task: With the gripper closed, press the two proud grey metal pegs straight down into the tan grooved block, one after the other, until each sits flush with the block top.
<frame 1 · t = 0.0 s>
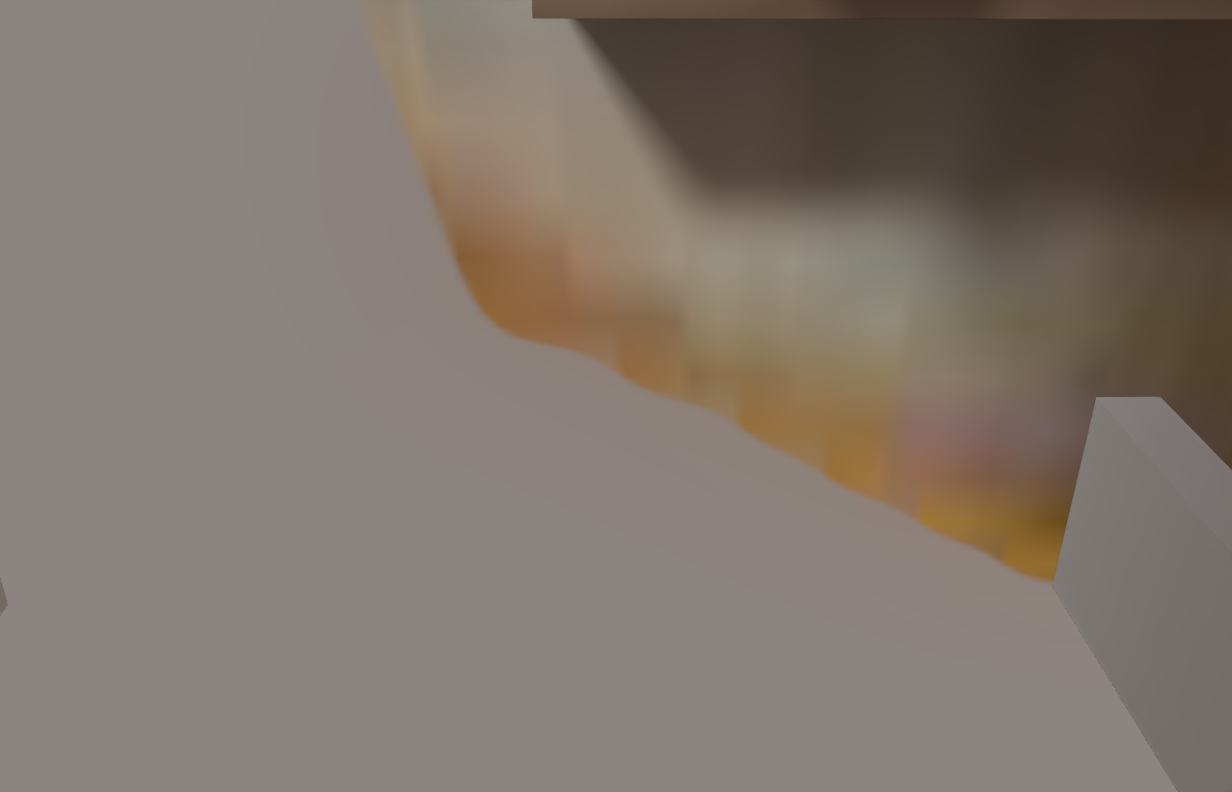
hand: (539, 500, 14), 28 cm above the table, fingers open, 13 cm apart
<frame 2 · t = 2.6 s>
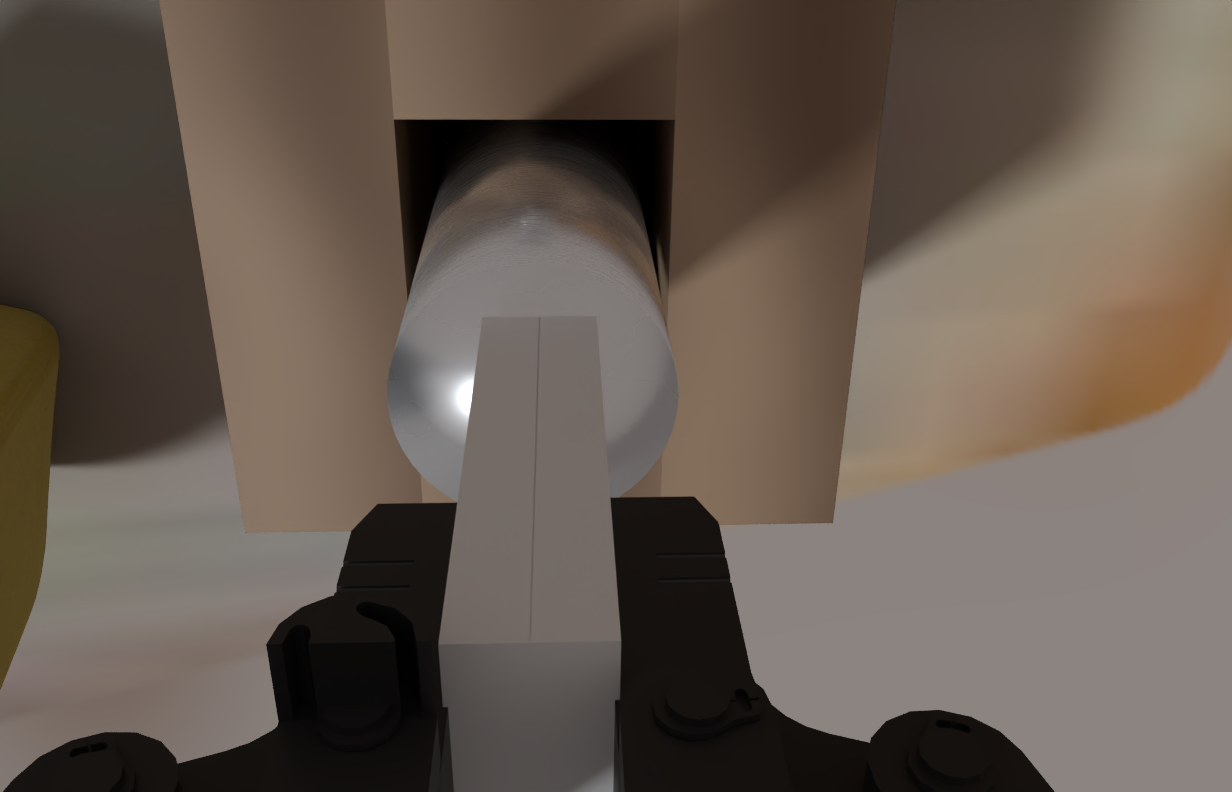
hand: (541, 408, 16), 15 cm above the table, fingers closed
peg 1: (537, 276, 20), point 10 cm above the table, slide at 5.7 cm, touching gripper
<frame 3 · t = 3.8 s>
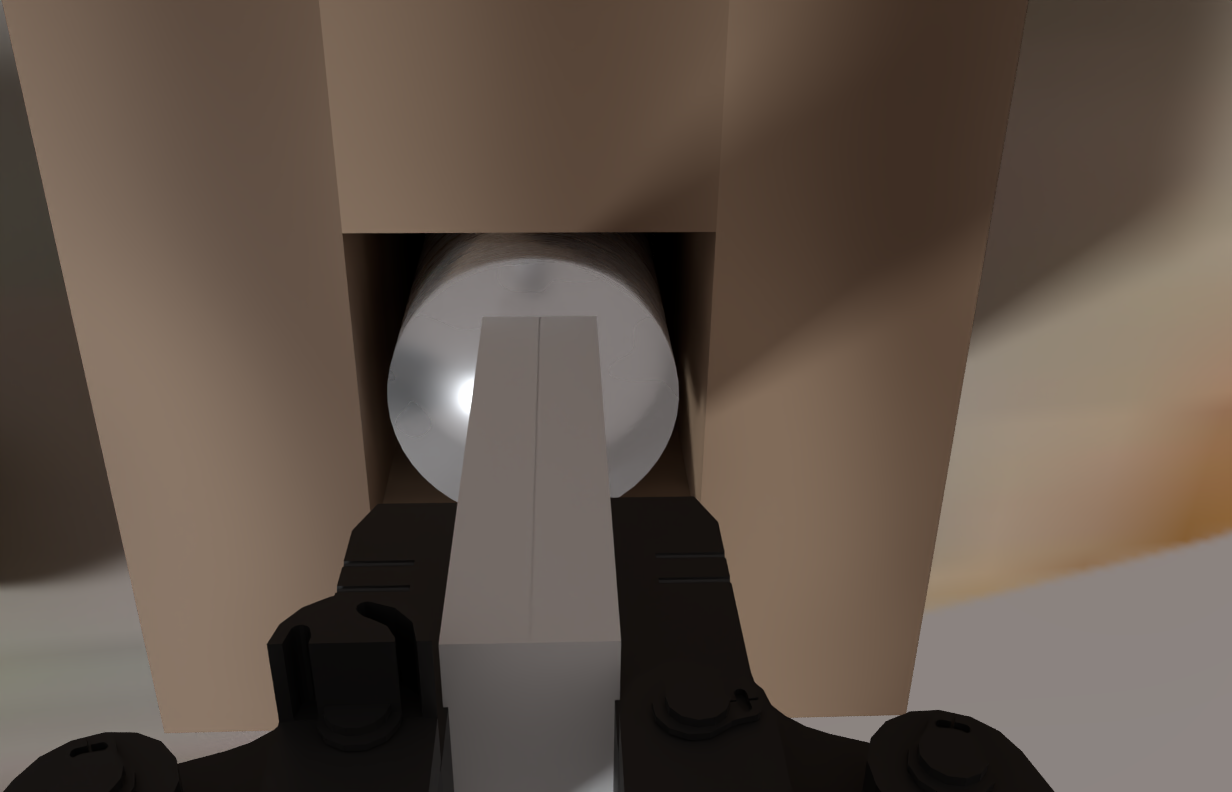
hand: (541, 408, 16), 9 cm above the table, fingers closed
peg 1: (537, 276, 20), point 5 cm above the table, slide at 0.1 cm, touching gripper
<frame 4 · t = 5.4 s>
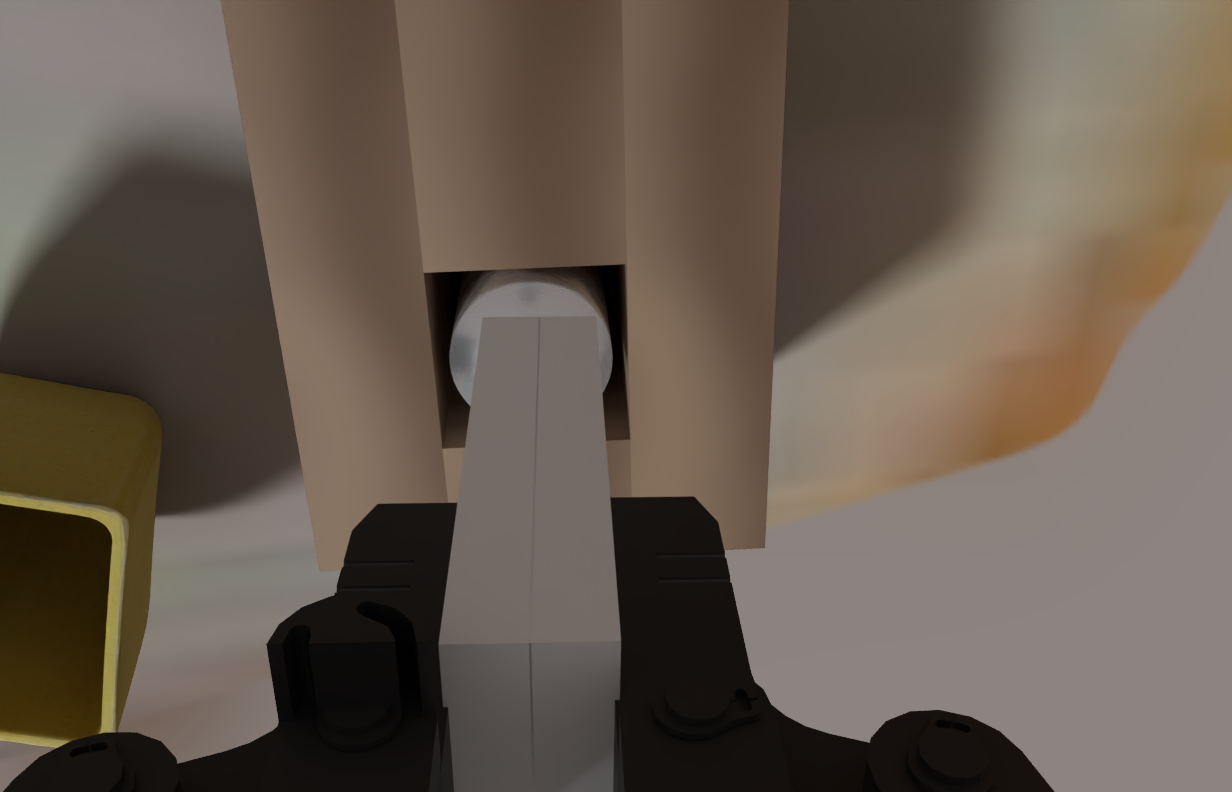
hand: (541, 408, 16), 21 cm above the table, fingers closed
flower pot: (71, 447, 40), on the table
peg 1: (532, 289, 33), point 5 cm above the table, slide at 0.0 cm
tan grooved block: (521, 37, 34), on the table
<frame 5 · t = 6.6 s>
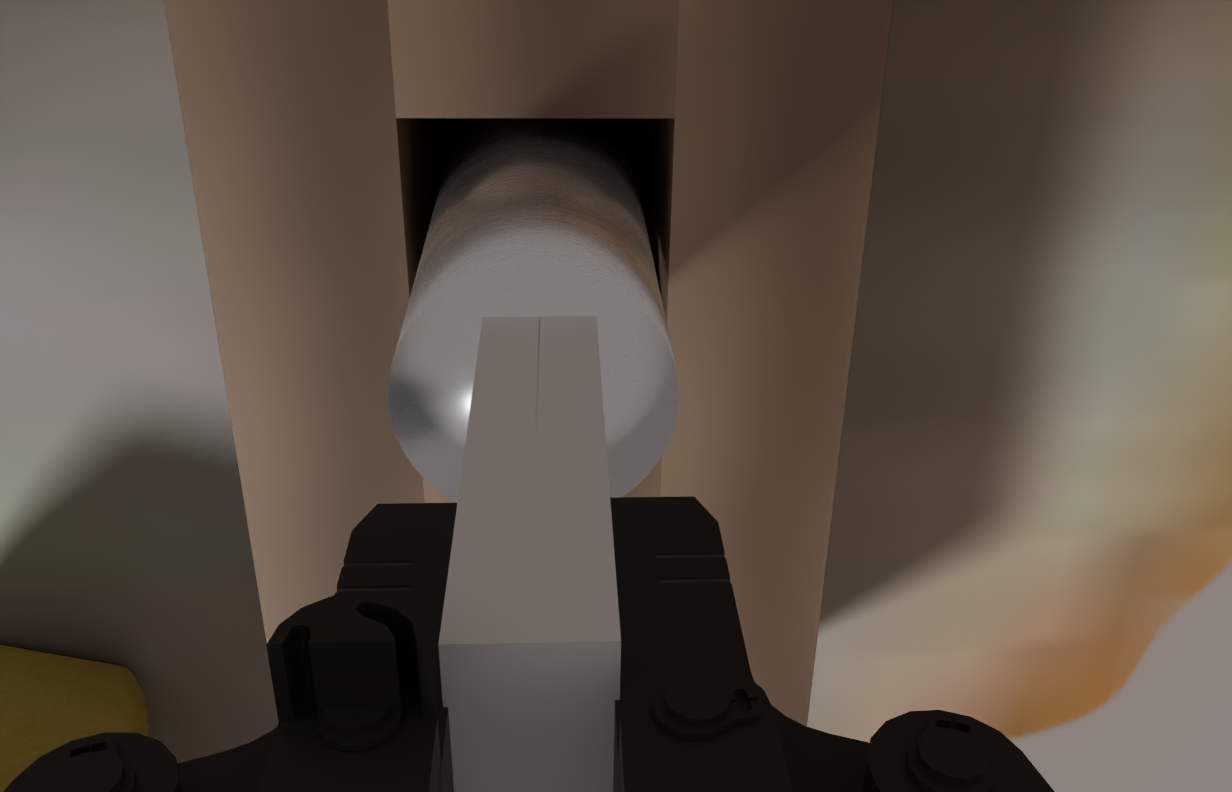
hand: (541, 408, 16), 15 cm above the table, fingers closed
flower pot: (51, 706, 38), on the table
peg 2: (537, 278, 20), point 10 cm above the table, slide at 5.9 cm, touching gripper
tan grooved block: (545, 338, 32), on the table
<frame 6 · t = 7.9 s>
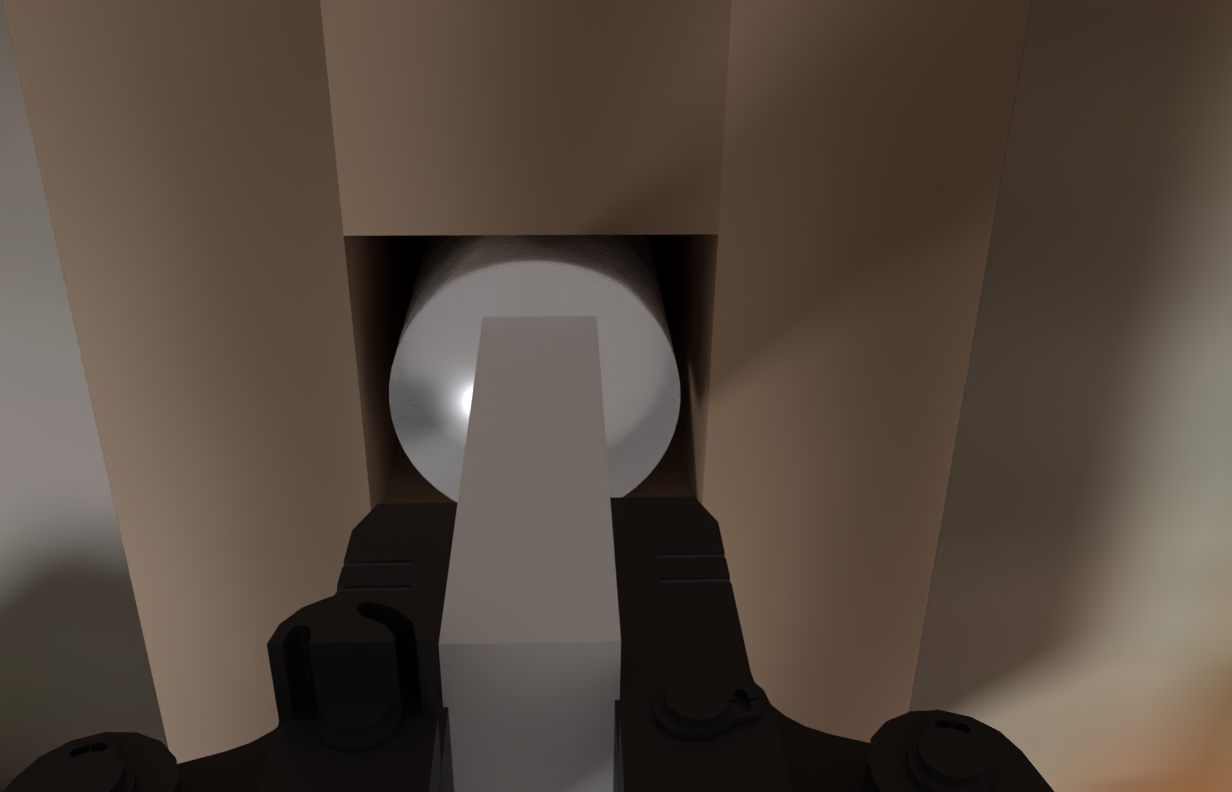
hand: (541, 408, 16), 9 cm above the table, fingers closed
peg 2: (538, 277, 20), point 5 cm above the table, slide at 0.1 cm, touching gripper
tan grooved block: (545, 446, 27), on the table
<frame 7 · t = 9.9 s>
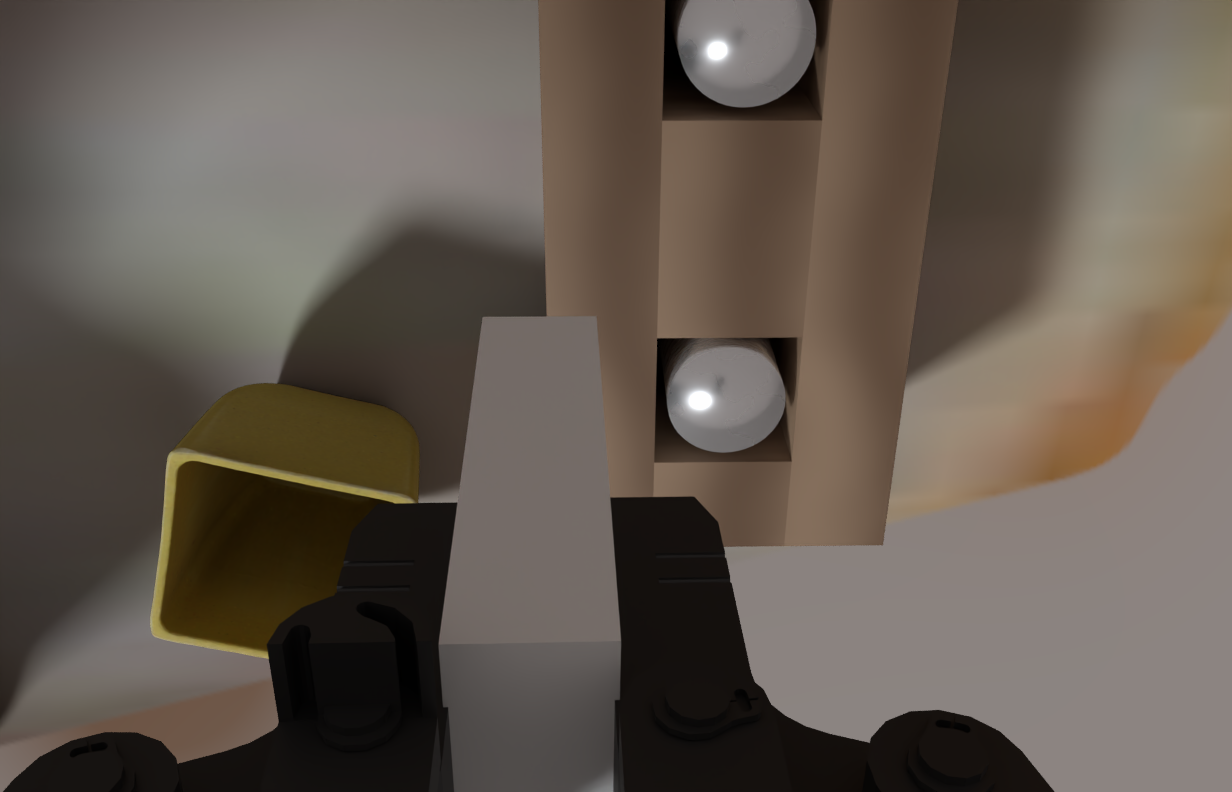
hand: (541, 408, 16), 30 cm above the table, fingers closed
flower pot: (327, 442, 51), on the table
peg 1: (713, 343, 44), point 5 cm above the table, slide at 0.0 cm
peg 2: (730, 9, 38), point 5 cm above the table, slide at 0.0 cm
tan grooved block: (709, 150, 45), on the table
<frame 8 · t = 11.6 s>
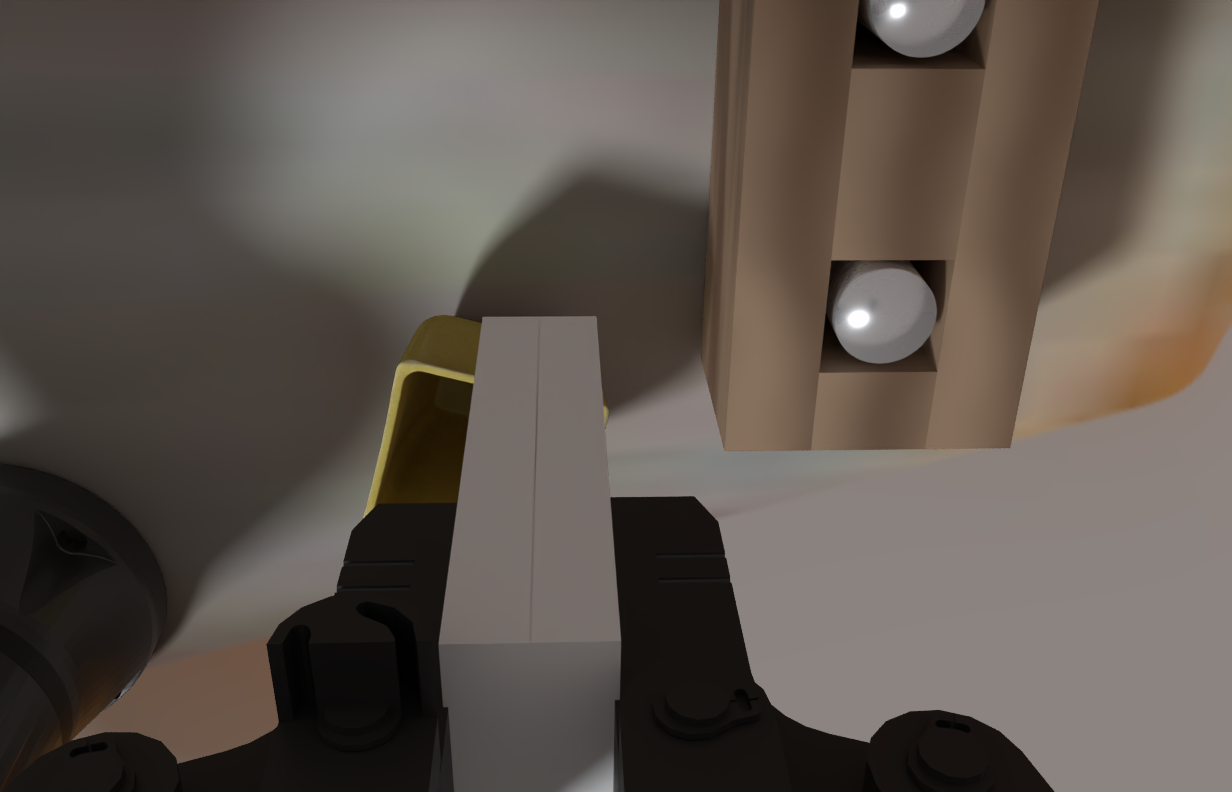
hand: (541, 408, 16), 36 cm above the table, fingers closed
flower pot: (493, 373, 56), on the table
peg 1: (859, 274, 50), point 5 cm above the table, slide at 0.0 cm
tan grooved block: (851, 107, 51), on the table
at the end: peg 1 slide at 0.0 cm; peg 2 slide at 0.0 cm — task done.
